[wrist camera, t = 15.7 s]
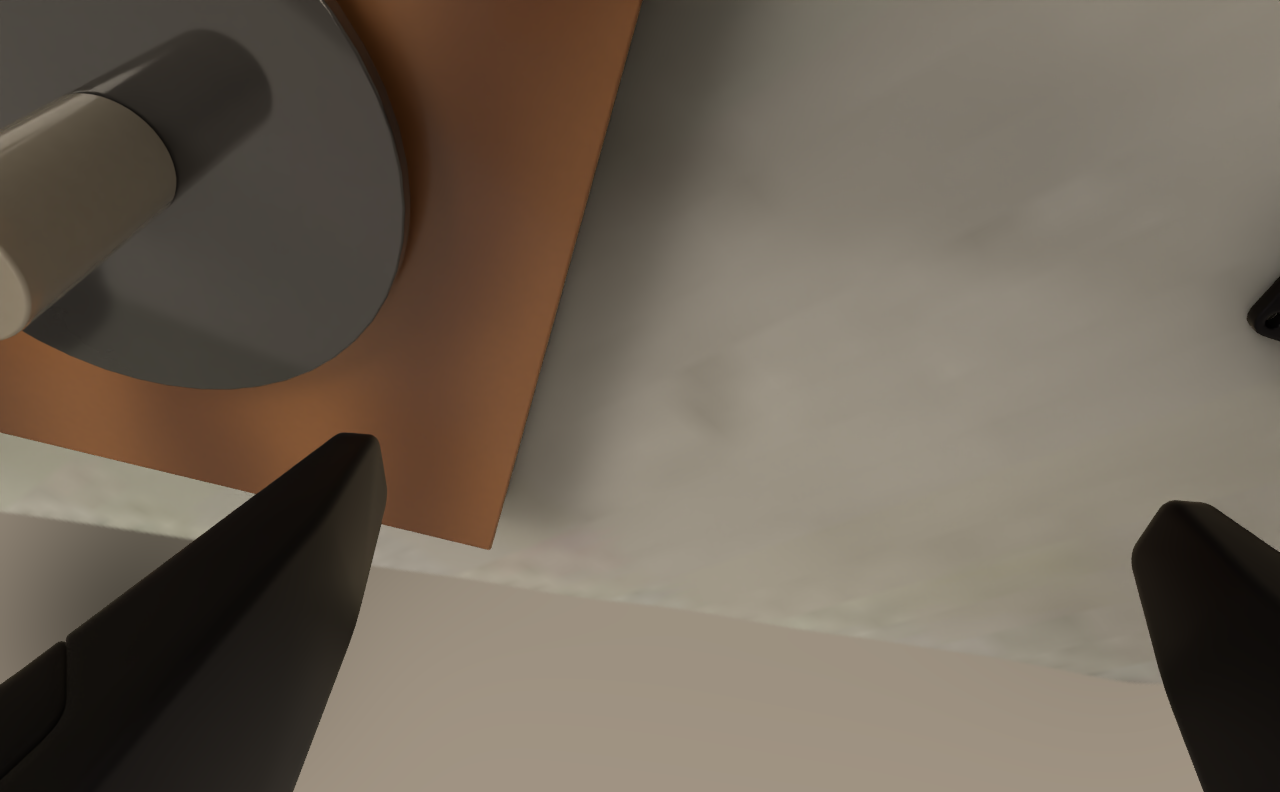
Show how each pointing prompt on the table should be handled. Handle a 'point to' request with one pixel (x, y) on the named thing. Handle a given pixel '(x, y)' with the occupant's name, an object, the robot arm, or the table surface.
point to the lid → (195, 186)
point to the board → (404, 279)
